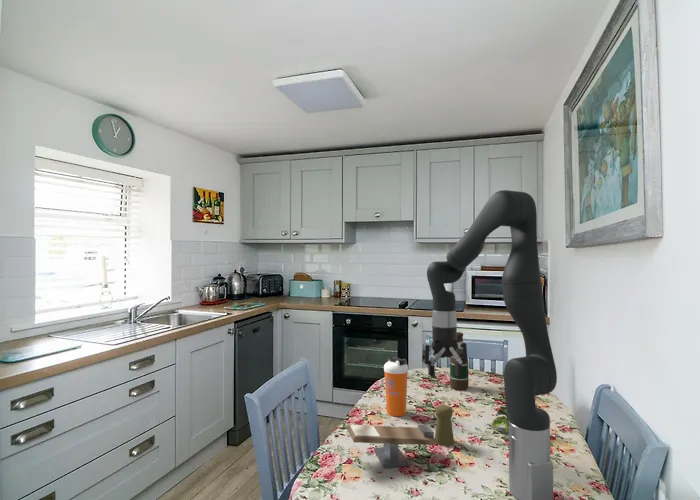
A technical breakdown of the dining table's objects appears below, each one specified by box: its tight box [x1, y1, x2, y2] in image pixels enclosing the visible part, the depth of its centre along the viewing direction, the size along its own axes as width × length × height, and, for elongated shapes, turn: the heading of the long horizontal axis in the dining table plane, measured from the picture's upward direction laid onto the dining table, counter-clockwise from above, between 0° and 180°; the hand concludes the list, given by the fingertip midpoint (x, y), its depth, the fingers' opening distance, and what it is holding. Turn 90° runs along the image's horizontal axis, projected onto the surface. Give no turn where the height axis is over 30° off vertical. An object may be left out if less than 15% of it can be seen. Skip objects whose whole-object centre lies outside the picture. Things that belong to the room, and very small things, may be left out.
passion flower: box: [490, 404, 509, 433], centre depth 133 cm, size 11×11×12 cm
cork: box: [434, 404, 455, 447], centre depth 126 cm, size 6×6×11 cm
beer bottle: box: [449, 331, 469, 391], centre depth 176 cm, size 8×8×24 cm
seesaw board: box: [346, 424, 436, 446], centre depth 116 cm, size 24×8×3 cm, turn 103°
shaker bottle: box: [383, 356, 409, 418], centre depth 149 cm, size 9×9×20 cm
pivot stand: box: [373, 443, 410, 470], centre depth 116 cm, size 10×7×6 cm
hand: (445, 376), depth 127 cm, fingers open, 8 cm apart
